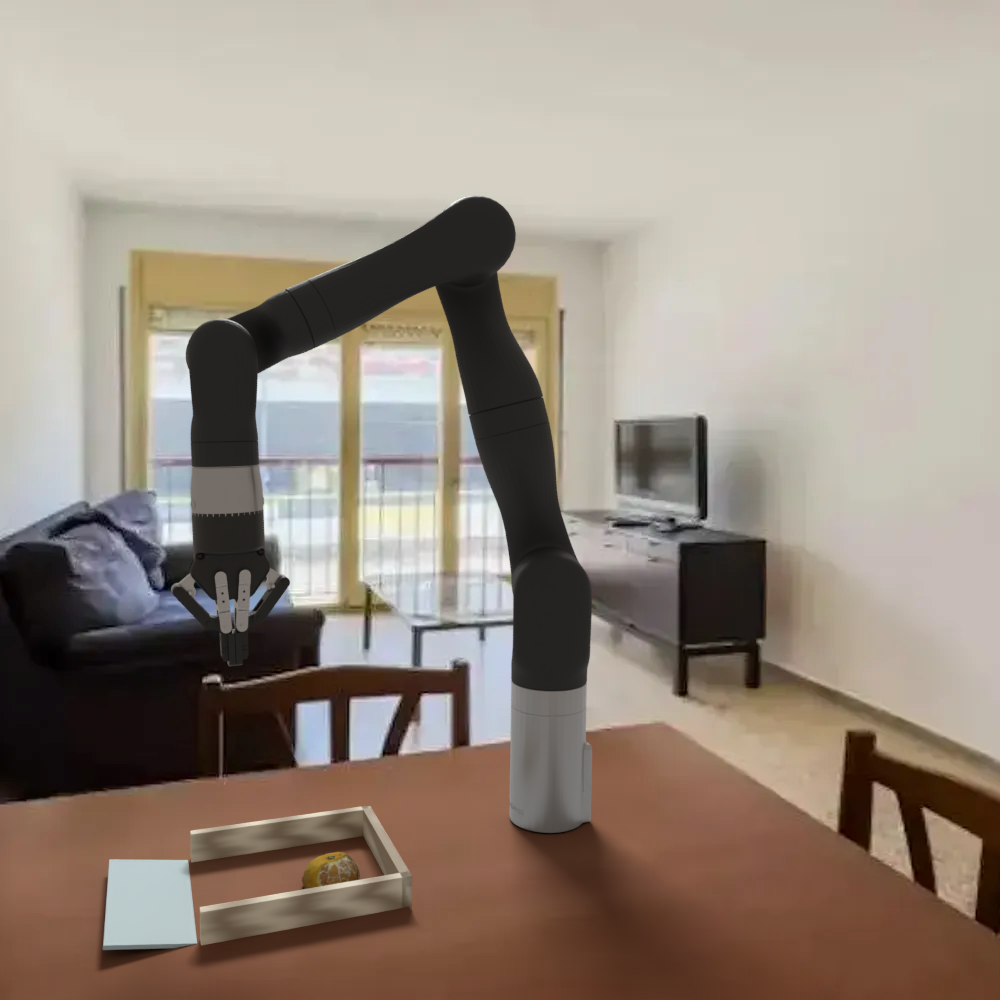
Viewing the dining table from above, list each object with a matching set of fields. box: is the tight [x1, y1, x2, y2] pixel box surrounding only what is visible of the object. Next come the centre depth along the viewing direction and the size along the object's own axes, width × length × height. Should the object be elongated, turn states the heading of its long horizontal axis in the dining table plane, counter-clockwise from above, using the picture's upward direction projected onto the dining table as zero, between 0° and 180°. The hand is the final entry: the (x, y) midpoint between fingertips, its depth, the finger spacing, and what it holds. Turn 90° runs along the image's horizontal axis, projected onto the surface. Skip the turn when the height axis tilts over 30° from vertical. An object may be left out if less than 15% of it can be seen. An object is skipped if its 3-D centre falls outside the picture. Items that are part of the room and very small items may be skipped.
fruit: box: [301, 851, 361, 889], centre depth 94 cm, size 8×8×4 cm
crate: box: [189, 804, 413, 946], centre depth 96 cm, size 20×18×4 cm
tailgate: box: [102, 858, 198, 951], centre depth 91 cm, size 1×17×8 cm
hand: (234, 664), depth 101 cm, fingers closed
